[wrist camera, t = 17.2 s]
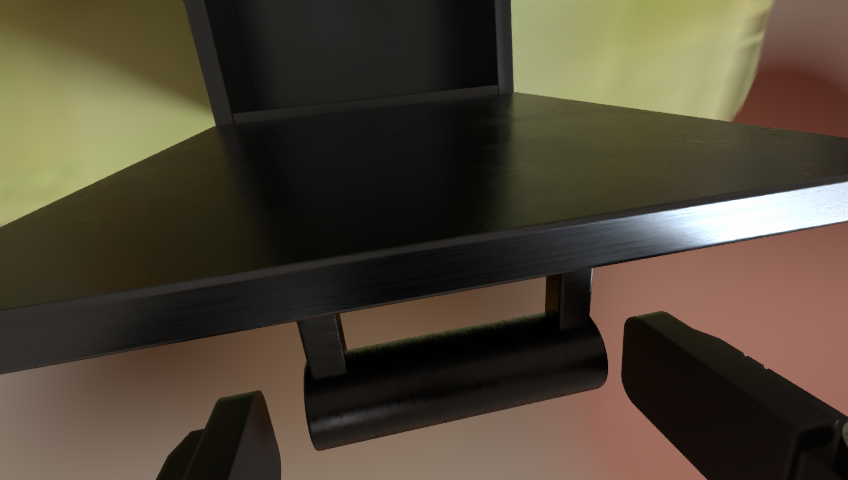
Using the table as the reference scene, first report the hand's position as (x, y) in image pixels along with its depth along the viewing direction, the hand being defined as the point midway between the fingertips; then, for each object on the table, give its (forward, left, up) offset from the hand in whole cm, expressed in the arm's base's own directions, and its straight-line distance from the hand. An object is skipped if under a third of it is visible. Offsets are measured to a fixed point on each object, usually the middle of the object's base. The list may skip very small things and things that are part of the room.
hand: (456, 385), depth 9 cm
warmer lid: (-5, +2, -6) cm, 8 cm away
